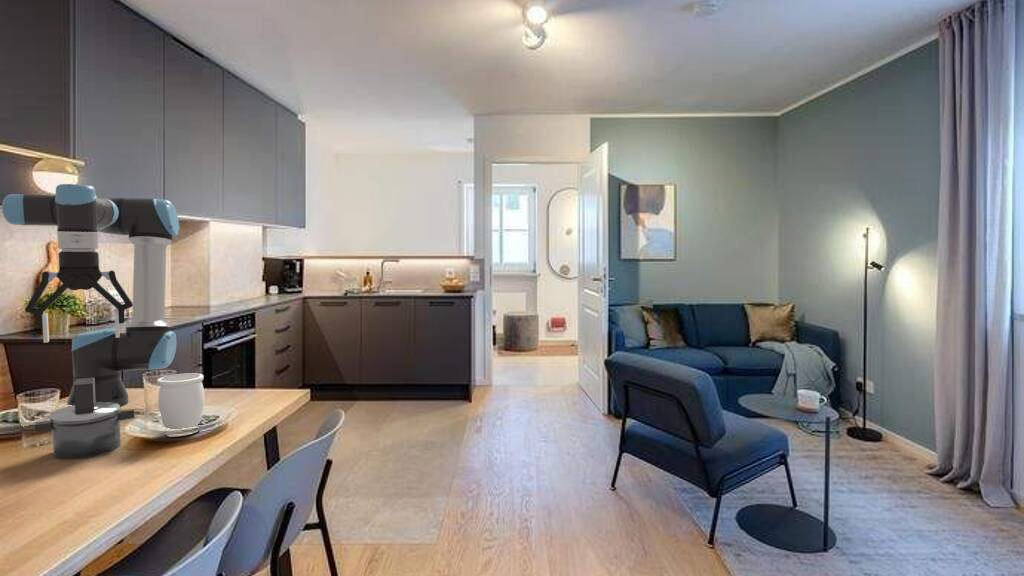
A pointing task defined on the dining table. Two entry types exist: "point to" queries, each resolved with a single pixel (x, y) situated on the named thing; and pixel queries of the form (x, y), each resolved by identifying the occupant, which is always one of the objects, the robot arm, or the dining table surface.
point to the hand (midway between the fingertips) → (83, 339)
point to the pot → (85, 436)
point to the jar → (181, 400)
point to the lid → (84, 405)
